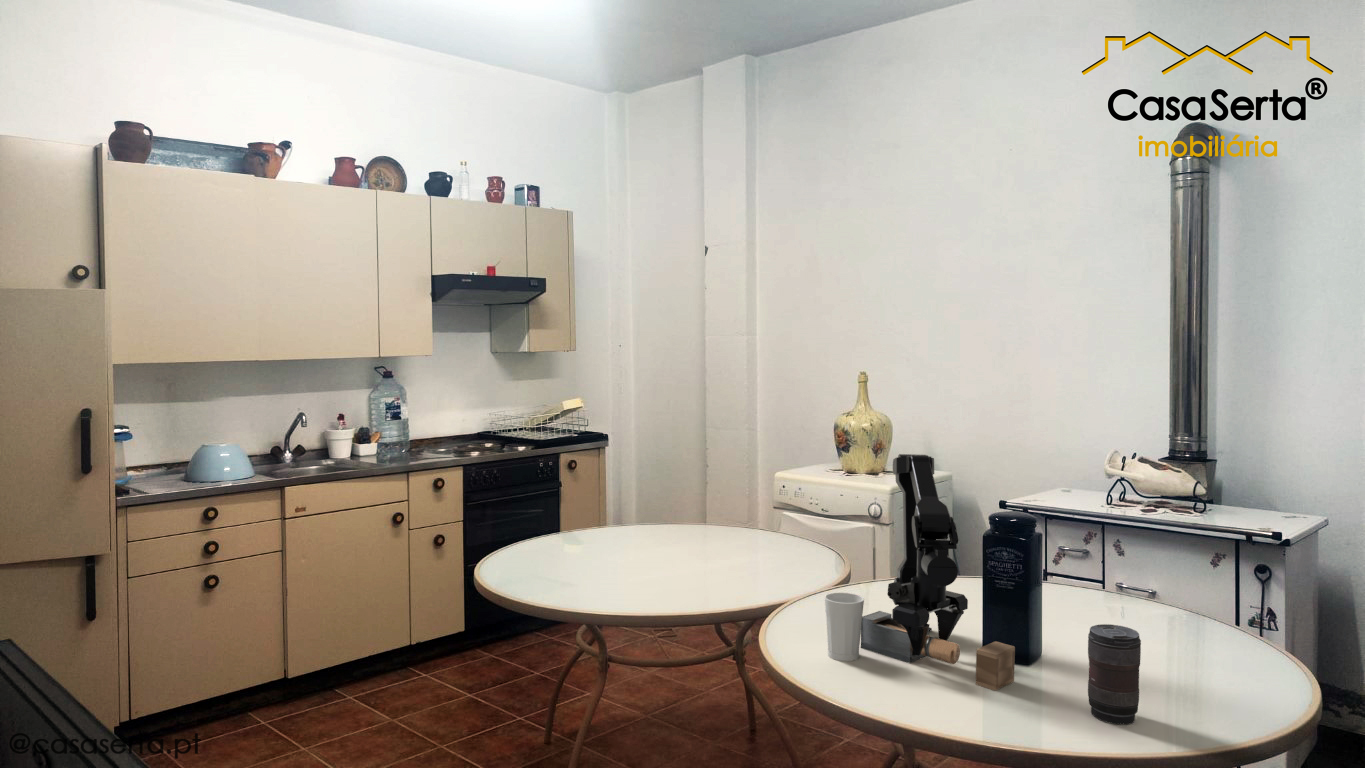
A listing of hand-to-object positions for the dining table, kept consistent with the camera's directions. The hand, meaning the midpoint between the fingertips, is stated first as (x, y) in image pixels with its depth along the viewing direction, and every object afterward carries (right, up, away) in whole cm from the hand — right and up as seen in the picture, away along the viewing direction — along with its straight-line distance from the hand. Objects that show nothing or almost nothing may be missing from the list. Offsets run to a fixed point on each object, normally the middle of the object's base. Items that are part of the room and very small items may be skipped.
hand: (929, 649), depth 175 cm
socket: (+9, -3, -10) cm, 14 cm away
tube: (-3, -1, +3) cm, 4 cm away
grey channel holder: (-6, -2, +6) cm, 9 cm away
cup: (-17, -3, +4) cm, 17 cm away
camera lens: (+24, -4, -25) cm, 35 cm away
